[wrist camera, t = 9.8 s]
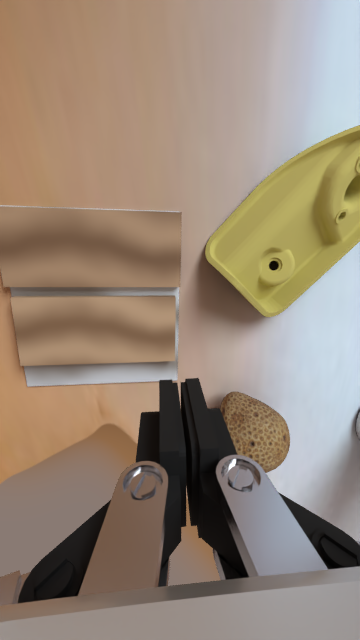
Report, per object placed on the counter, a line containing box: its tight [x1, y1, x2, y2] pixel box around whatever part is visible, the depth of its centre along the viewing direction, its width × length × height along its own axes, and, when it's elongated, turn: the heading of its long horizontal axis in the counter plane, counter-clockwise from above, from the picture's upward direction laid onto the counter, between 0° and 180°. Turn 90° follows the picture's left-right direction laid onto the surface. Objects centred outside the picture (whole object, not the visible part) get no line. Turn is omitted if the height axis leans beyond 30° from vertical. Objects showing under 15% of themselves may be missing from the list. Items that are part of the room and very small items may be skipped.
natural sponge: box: [220, 392, 290, 473], centre depth 32 cm, size 9×9×10 cm
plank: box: [10, 295, 176, 366], centre depth 30 cm, size 8×18×1 cm, turn 89°
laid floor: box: [0, 205, 182, 387], centre depth 29 cm, size 21×19×1 cm
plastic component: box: [205, 125, 360, 317], centre depth 28 cm, size 20×7×10 cm
